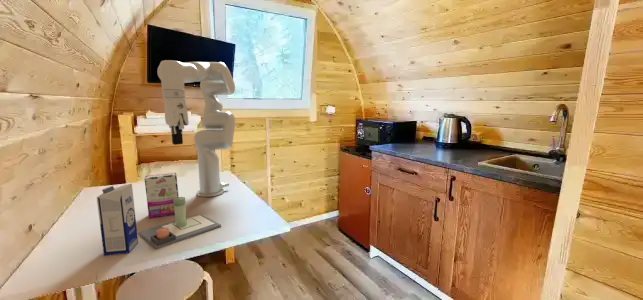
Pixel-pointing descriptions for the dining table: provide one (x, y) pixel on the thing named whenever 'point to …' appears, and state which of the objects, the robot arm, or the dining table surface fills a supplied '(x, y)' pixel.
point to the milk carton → (117, 220)
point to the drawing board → (180, 230)
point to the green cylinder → (180, 211)
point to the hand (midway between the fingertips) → (177, 144)
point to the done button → (162, 233)
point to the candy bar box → (161, 194)
